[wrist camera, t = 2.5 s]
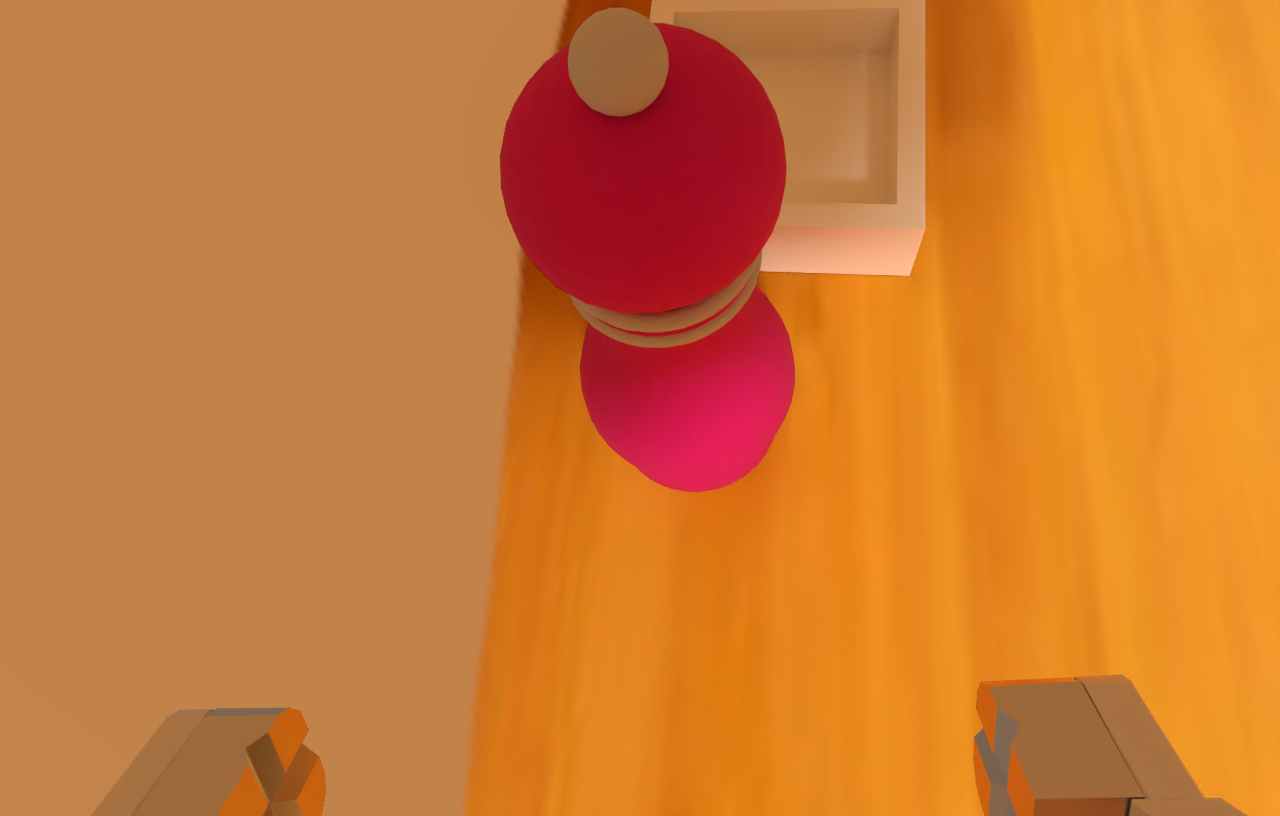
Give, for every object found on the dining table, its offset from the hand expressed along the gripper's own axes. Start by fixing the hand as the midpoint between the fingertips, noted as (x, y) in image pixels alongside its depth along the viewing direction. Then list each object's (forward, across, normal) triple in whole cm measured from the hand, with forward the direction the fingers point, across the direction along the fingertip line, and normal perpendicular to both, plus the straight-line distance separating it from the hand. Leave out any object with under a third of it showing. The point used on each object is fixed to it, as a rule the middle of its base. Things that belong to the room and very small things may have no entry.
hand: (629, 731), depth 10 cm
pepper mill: (+22, 0, +7) cm, 23 cm away
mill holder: (+30, -4, -2) cm, 30 cm away
